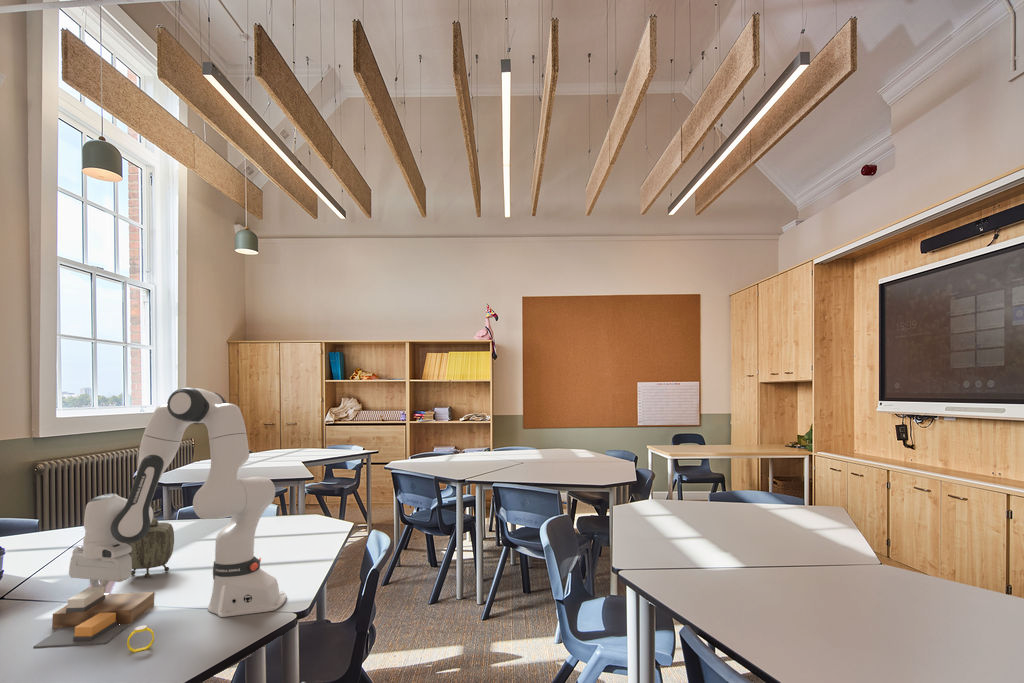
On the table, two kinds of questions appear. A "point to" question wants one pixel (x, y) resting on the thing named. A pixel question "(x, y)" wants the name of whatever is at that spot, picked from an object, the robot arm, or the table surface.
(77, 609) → the block
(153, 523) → the tabletop clock
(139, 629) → the watch
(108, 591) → the mobile phone
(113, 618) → the eraser orange
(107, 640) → the mat
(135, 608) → the riser
